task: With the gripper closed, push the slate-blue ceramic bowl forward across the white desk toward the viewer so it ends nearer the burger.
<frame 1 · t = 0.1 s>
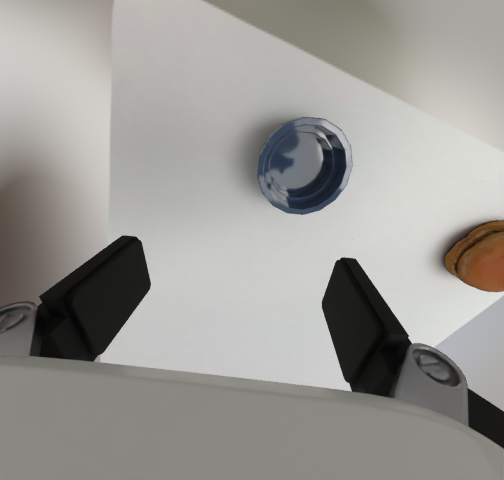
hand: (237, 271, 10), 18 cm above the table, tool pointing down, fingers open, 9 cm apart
bowl: (297, 163, 24), on the table
burger: (480, 248, 28), on the table
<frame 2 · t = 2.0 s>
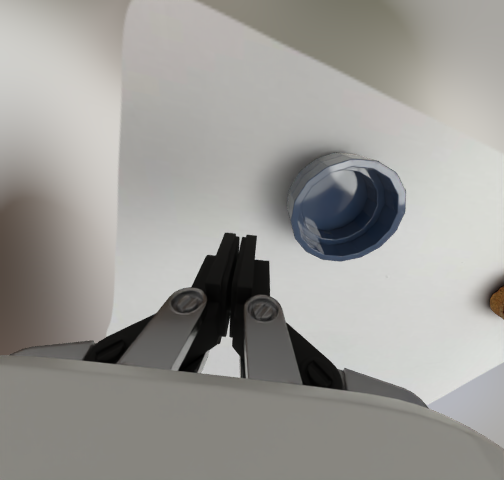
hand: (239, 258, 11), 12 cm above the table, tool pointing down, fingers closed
bowl: (330, 198, 21), on the table
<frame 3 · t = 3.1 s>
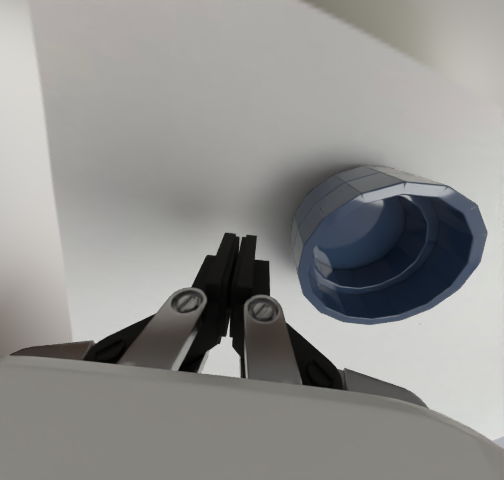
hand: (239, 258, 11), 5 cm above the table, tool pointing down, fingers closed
bowl: (350, 228, 15), on the table
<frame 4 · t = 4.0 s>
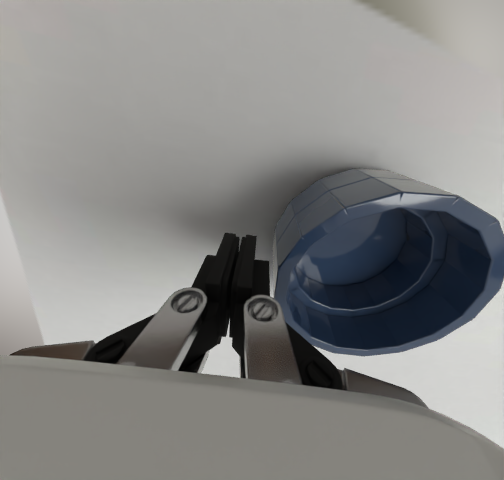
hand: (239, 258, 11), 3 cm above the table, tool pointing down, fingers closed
bowl: (343, 239, 13), on the table, touching gripper
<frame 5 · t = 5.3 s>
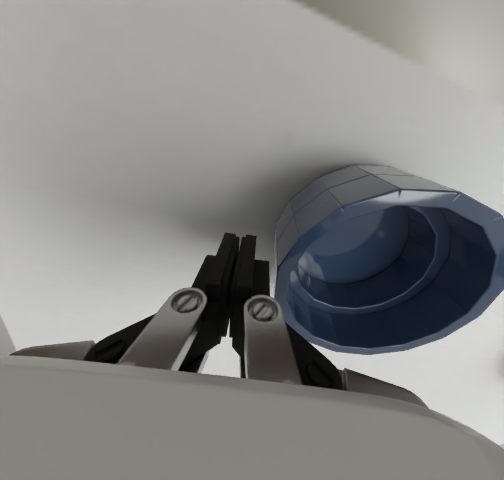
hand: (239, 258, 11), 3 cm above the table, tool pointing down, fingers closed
bowl: (344, 237, 13), on the table, touching gripper
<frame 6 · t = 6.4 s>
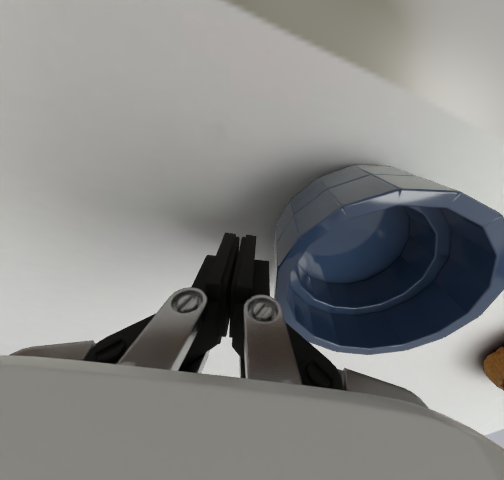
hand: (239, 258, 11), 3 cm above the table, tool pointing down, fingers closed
bowl: (345, 237, 13), on the table, touching gripper
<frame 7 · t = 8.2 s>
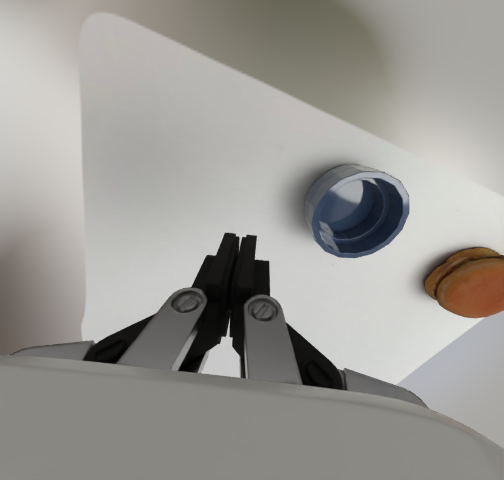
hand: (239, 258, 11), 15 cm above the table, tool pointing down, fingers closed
bowl: (341, 203, 24), on the table
burger: (459, 273, 29), on the table
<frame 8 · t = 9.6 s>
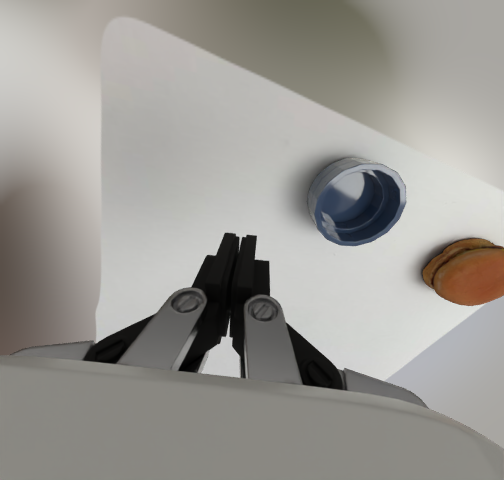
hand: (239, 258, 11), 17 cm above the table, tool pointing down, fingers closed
bowl: (343, 195, 26), on the table
burger: (456, 263, 30), on the table
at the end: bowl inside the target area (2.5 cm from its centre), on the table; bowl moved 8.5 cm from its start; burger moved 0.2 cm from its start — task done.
